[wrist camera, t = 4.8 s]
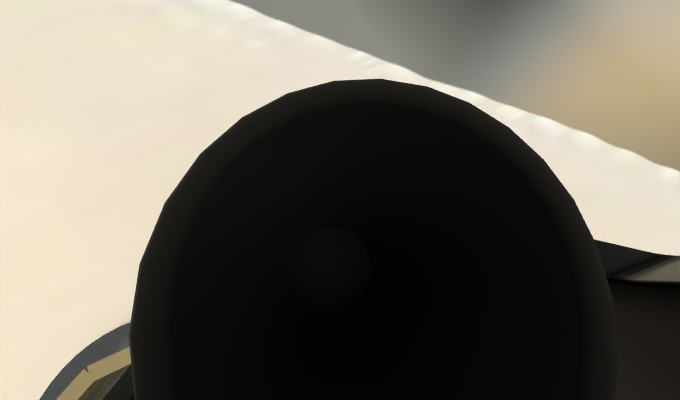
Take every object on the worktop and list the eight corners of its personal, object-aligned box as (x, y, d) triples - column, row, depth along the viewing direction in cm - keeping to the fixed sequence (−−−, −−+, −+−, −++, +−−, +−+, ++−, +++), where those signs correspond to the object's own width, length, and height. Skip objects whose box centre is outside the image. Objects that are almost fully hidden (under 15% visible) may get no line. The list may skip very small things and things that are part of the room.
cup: (258, 330, 14) (17, 664, 2) (277, 201, 16) (197, 43, 4) (388, 337, 15) (681, 616, 3) (391, 214, 17) (581, 107, 5)
